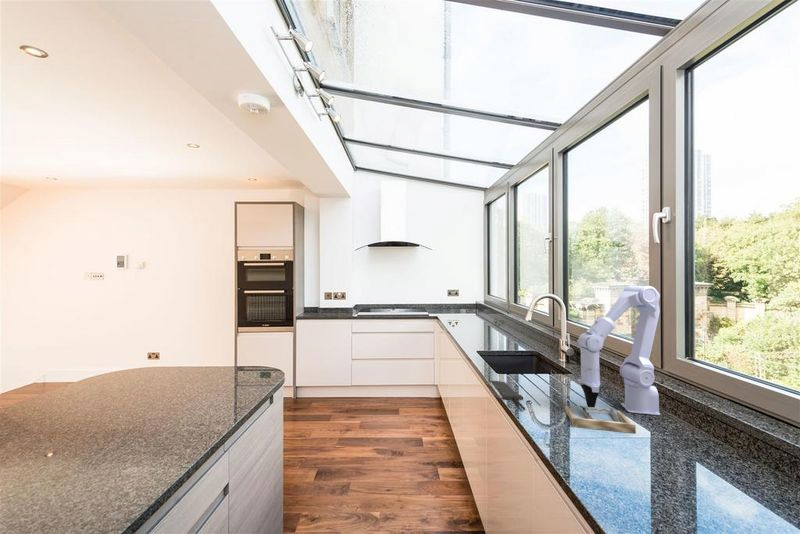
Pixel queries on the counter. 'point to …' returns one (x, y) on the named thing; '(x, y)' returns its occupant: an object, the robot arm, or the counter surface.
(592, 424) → the oak frame
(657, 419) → the counter surface
